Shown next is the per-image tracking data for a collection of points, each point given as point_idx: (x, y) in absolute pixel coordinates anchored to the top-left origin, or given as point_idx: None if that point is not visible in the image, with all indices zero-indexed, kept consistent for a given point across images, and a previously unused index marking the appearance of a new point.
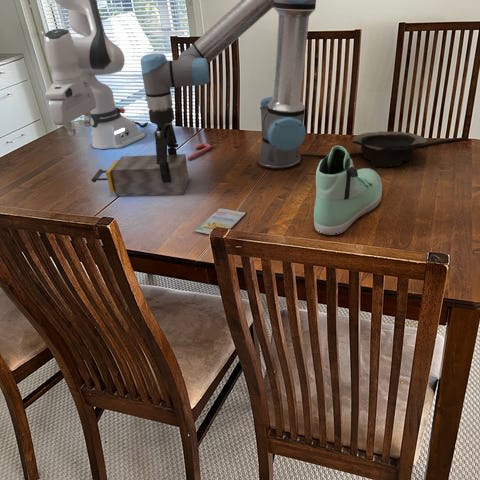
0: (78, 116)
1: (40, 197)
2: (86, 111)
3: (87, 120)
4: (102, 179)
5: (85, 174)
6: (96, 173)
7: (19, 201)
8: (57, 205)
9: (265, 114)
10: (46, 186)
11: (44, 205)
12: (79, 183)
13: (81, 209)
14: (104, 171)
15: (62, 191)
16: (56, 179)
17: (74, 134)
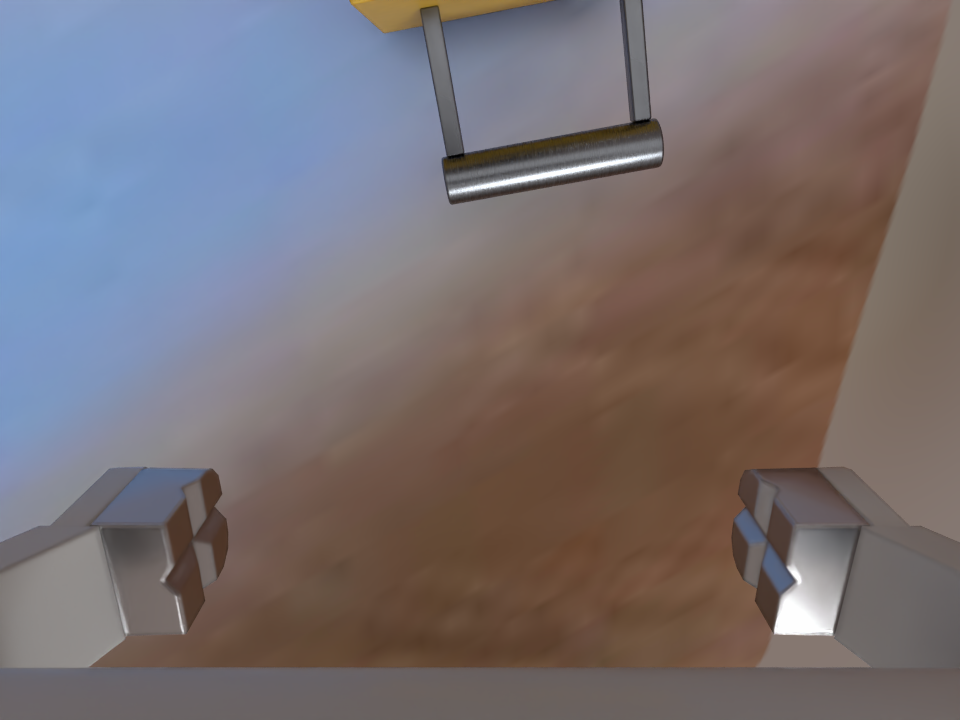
0: (699, 687)
1: (682, 524)
2: (37, 704)
3: (104, 565)
4: (643, 51)
5: (290, 428)
6: (555, 168)
7: (737, 611)
8: (803, 349)
9: None
10: (520, 578)
11: (799, 435)
12: (447, 388)
13: (881, 128)
14: (460, 132)
15: (587, 436)
16: (408, 576)
17: (786, 470)
